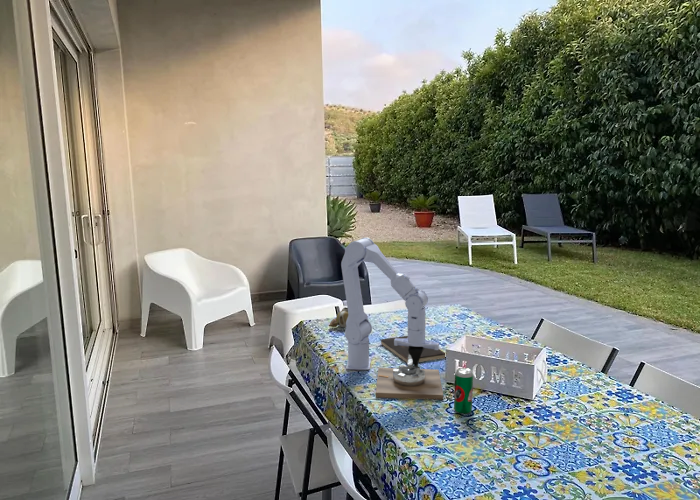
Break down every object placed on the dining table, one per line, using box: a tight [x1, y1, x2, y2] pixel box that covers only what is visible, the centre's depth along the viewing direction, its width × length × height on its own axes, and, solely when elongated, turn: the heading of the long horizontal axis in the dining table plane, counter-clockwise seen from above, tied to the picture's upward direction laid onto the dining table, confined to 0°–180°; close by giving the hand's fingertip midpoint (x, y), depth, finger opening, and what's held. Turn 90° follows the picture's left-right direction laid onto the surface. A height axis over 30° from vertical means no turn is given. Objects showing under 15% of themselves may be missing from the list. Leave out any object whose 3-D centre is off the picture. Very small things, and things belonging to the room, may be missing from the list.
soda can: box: [453, 367, 474, 415], centre depth 158 cm, size 5×5×12 cm
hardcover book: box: [379, 335, 446, 364], centre depth 209 cm, size 16×23×2 cm
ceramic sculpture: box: [328, 306, 349, 329], centre depth 237 cm, size 11×9×15 cm
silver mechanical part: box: [393, 354, 425, 386], centre depth 181 cm, size 19×10×4 cm, turn 171°
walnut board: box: [375, 367, 444, 401], centre depth 177 cm, size 20×20×2 cm
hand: (416, 368), depth 185 cm, fingers closed
